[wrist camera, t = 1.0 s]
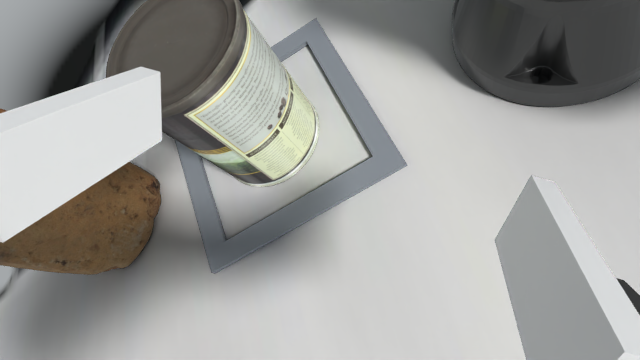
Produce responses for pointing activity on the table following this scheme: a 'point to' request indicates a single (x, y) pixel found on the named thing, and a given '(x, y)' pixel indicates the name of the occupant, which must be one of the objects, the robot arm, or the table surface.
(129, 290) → the table surface
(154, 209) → the brown rough upright block
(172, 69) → the coffee can
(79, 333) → the table surface
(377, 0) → the table surface
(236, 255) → the flat grey frame
